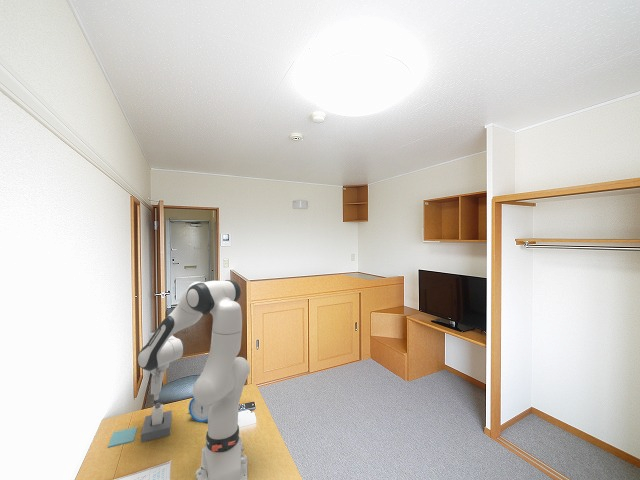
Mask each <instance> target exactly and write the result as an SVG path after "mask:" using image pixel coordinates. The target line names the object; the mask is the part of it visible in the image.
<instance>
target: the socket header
mask: <svg viewBox="0 0 640 480" xmlns="http://www.w3.org/2000/svg"><path fill="white" fill-rule="evenodd" d="M172 415H173V410H167V411H163V424H158V425H154V426H152V414H150V415H149V414H148V415H145V417H144V421H143V424H142V425H143V426H142V429H141V434H140V443H145V442H149V441H152V440H156V439H161V438H165V437H170V436H171V428H172V417H173V416H172Z"/></svg>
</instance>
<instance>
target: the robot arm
mask: <svg viewBox="0 0 640 480" xmlns="http://www.w3.org/2000/svg"><path fill="white" fill-rule="evenodd" d="M241 294H242V292H241V287H240V285H239V283H238V282H236V281H234V280H232V279H226V280H209V281H193V282H192V283H191V284H189V286H187V288H186V289H185V291H184V292H183V294H182V295H181V297H180V300H179V302H178V303H177V305H176V306H175V308H174V309H173V310H172V311H171V312H170V313H169V314H168V315H167V316H166V317H165V318H164V319H163V320H162V321H161V322H160V323H159V325H158V327H157V328H156V329H155V330H152V331H150V333H149V336H148V340H147V343H146V344H145V345H144V346H143V347H142V348H140V351H139V352H138V355H137V364H138V366H139V367H140V368H141V369H142V370H144V371H148V372H150V374H151V379H150V380H151V381H150V382H151V383H150V395H153V401H158V400H159V398H160V393H161V391H162V384H163V379H164V376H165V372H166V371H167V369H168V368H169V367H170V363H173V362H175V361H177V360H179V359H181V358H182V357H183V355H184V353H185V351H186V350H185V348H186V347H185V343H184V341H183V340H182V339H181V338H178V337H175V336H174V334H176V333H178V332H180V331H182V330H184V329H187V328H189V327H191V326H193V325H195V324H196V323H198V321H200V319H201V318H202V317H203V315H204V316H206V315H208V314H209V313H210V314H211V316H212V326H211V327H212V329H211V339H210V340H211V341H210V348H209V352H208V353H209V354H208V357H207V360H206V361H205V364H204V366H203V367H204V368H203V370H202V372H201V374H200V375H199V376H198V378H197V380H196V381H195V382H194V384H193V387H192V396H193V397H194V399H195V400H196V402H197V403H198V404H200V405H202V406H209V405H211V404H212V405H211V406H210V409H209V412H208V422H207V431H206V435H205V436H206V437H205V445H204V447H202V449H201V463H200V467H199V468H198V469H197V470H196V472H195V478H196V480H248V456H247V455H246V454H244V453H243V451H244V450H245V446H243V438H242V437H240V427H239V406H240V403H241V402H240V401H241V398H242V393H243V390H244V387H245V383H246V381H247V379H248V377H249V375H250V372H251V367H250V364H249V362H248V360H247V359H246V358H245V357H242V356H238V355H239V353H240V351H241V349H242V348H241V347H242V332H243V313H242V307H241V305H240V303H238V301H239V299H240V298H241Z"/></svg>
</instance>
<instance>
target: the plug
mask: <svg viewBox="0 0 640 480" xmlns="http://www.w3.org/2000/svg"><path fill="white" fill-rule="evenodd" d="M163 412H164V404H163V403H161V402H156V403H155V404H154V405H153V407H152V409H151V415H152V426H154V425H158V424H163Z"/></svg>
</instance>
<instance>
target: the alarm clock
mask: <svg viewBox="0 0 640 480" xmlns="http://www.w3.org/2000/svg"><path fill="white" fill-rule="evenodd" d="M211 405H212V404H211ZM211 405H209V406H202V405H200V404H198V403H197V402H196V400H195V399H194V396H193V397H192V399H190V400H189V404H188V412H189V413H188V414H189V415H190V417H191V418H192V419H193V421H196V422H198V423H208V412H209V409H210V406H211Z"/></svg>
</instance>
